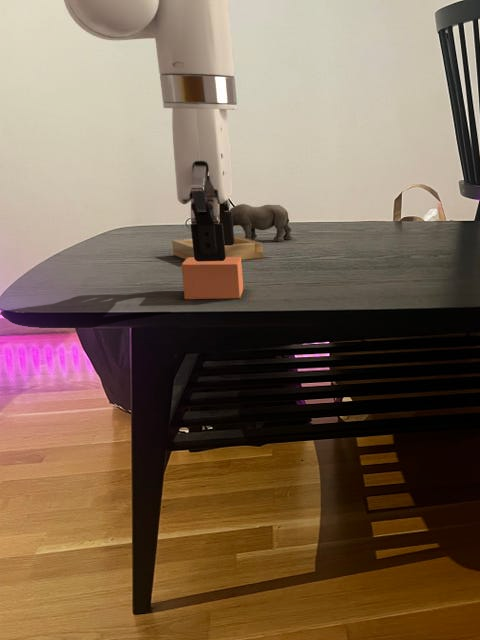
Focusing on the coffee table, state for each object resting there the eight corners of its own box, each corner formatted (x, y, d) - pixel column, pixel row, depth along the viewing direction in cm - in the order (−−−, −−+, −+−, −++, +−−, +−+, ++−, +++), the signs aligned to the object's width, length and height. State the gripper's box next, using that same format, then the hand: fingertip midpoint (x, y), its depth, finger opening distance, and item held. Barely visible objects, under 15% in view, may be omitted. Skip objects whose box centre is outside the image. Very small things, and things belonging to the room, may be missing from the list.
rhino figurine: (208, 238, 119) (205, 202, 117) (291, 237, 123) (290, 203, 121) (206, 242, 115) (203, 205, 113) (292, 241, 119) (291, 205, 117)
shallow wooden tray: (199, 264, 98) (198, 249, 97) (173, 255, 104) (171, 240, 103) (263, 257, 105) (262, 242, 104) (235, 249, 111) (234, 235, 110)
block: (184, 299, 80) (181, 264, 78) (190, 290, 84) (187, 256, 83) (239, 298, 81) (237, 264, 80) (243, 289, 85) (241, 256, 84)
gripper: (176, 95, 83) (192, 240, 88) (145, 91, 67) (167, 268, 72) (242, 97, 84) (254, 239, 90) (227, 94, 68) (243, 266, 74)
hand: (215, 252), depth 81 cm, fingers open, 9 cm apart
